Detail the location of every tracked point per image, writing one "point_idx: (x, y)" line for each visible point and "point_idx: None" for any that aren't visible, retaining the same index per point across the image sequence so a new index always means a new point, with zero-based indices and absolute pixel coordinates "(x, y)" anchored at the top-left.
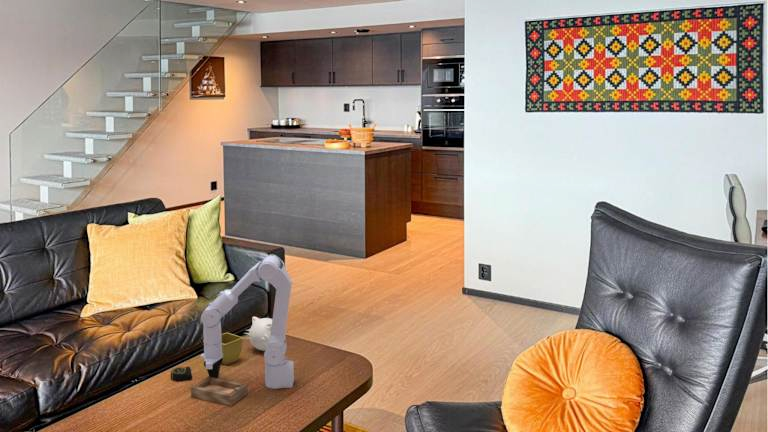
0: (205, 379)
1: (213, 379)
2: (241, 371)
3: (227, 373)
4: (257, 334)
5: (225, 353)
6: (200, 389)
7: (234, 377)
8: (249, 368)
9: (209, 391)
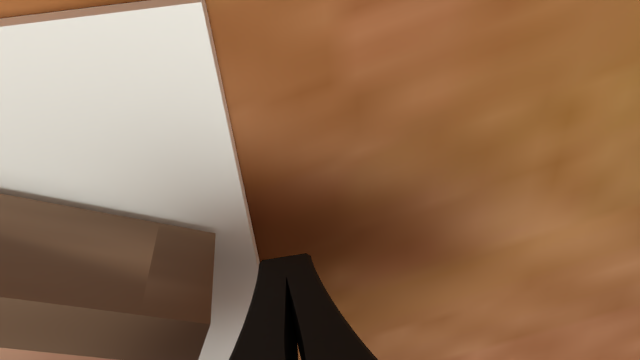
0: (94, 330)
1: None
2: (586, 326)
3: (572, 248)
4: None
5: None
6: None
7: (475, 319)
8: (628, 353)
9: None
